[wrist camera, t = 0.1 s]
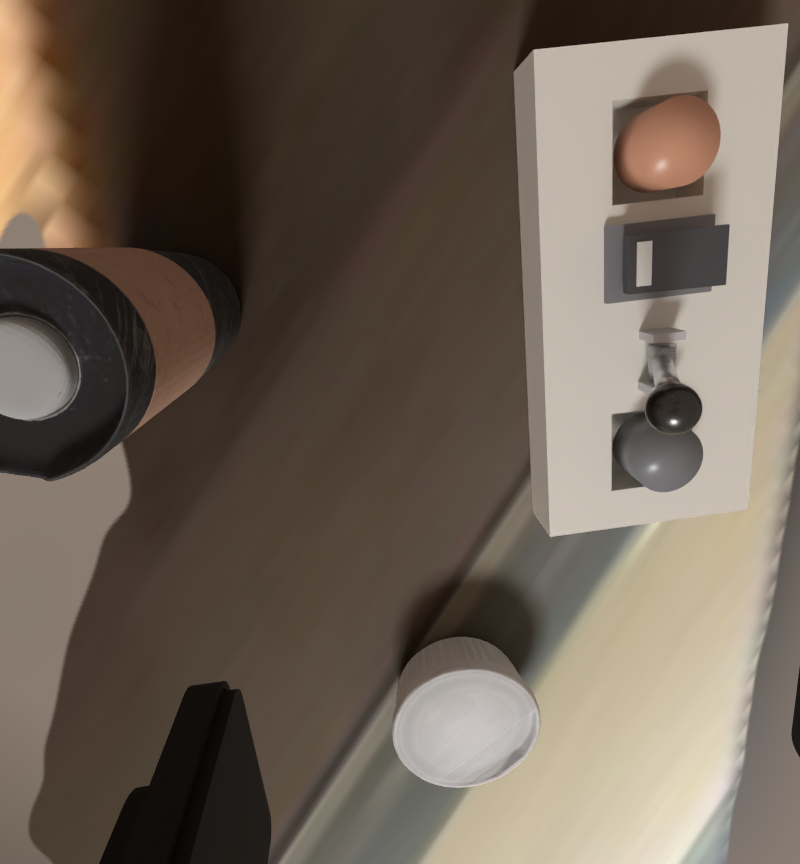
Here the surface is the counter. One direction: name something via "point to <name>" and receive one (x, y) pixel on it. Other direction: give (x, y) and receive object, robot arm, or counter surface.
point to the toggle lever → (669, 393)
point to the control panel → (572, 267)
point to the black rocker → (675, 259)
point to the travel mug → (100, 347)
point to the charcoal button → (657, 455)
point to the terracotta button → (667, 145)
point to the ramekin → (463, 714)
